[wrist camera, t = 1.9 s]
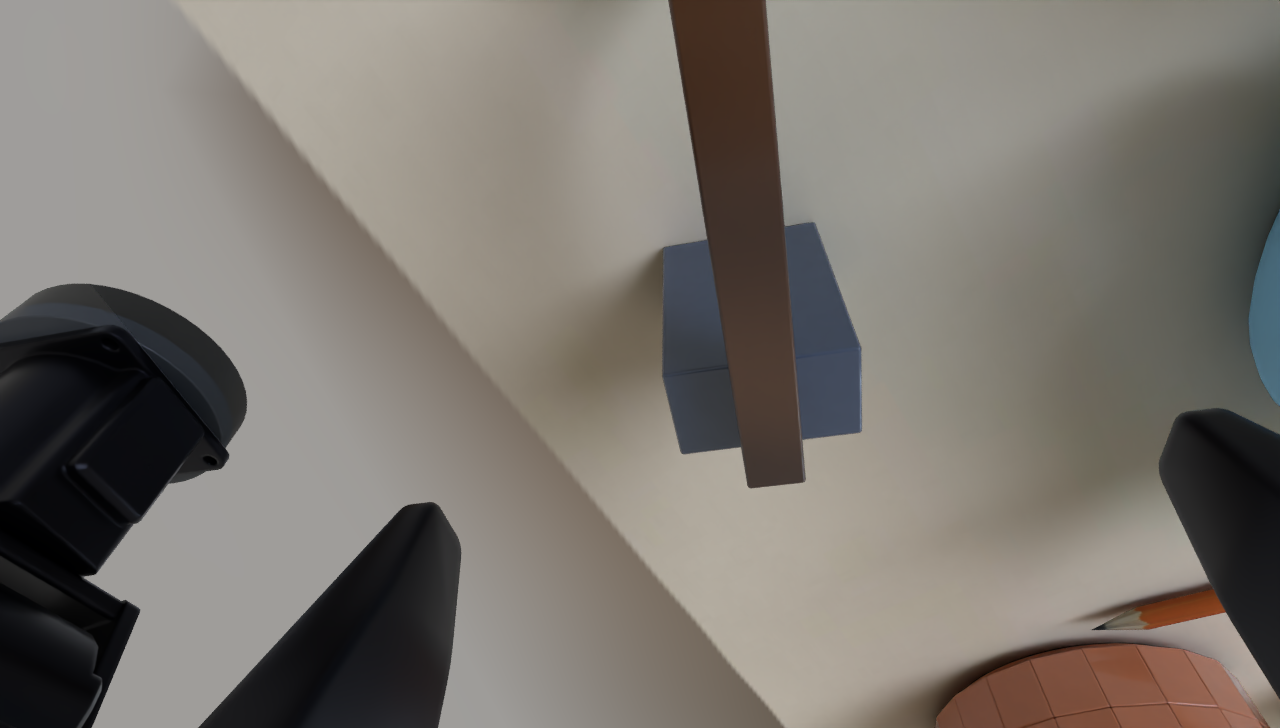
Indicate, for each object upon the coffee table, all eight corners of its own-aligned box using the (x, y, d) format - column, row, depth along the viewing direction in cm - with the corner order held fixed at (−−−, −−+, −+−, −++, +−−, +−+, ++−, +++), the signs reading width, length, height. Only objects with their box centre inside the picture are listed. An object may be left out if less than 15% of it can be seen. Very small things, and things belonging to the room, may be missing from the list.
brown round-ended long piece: (826, 296, 19) (886, 474, 14) (670, 320, 20) (672, 498, 14) (791, -478, 10) (915, -768, 5) (516, -389, 11) (386, -569, 6)
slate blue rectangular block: (677, 319, 20) (681, 456, 15) (662, 246, 18) (661, 375, 14) (819, 297, 19) (862, 433, 15) (815, 220, 18) (862, 347, 13)
